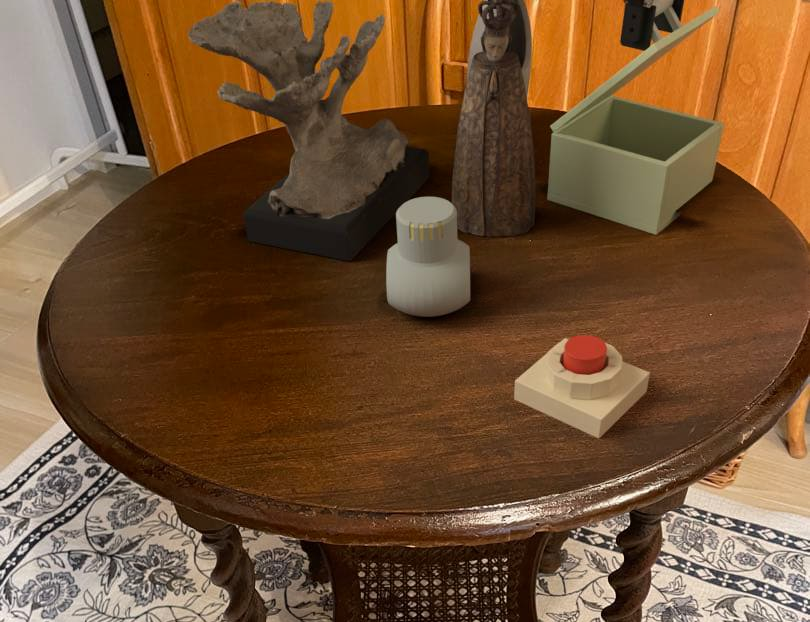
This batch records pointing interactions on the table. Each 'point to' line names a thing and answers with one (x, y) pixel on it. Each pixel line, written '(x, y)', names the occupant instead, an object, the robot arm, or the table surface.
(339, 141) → the coral
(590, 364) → the button
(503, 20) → the statue
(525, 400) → the control block
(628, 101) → the chest
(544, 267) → the table surface
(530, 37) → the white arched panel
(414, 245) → the air freshener
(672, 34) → the lid
